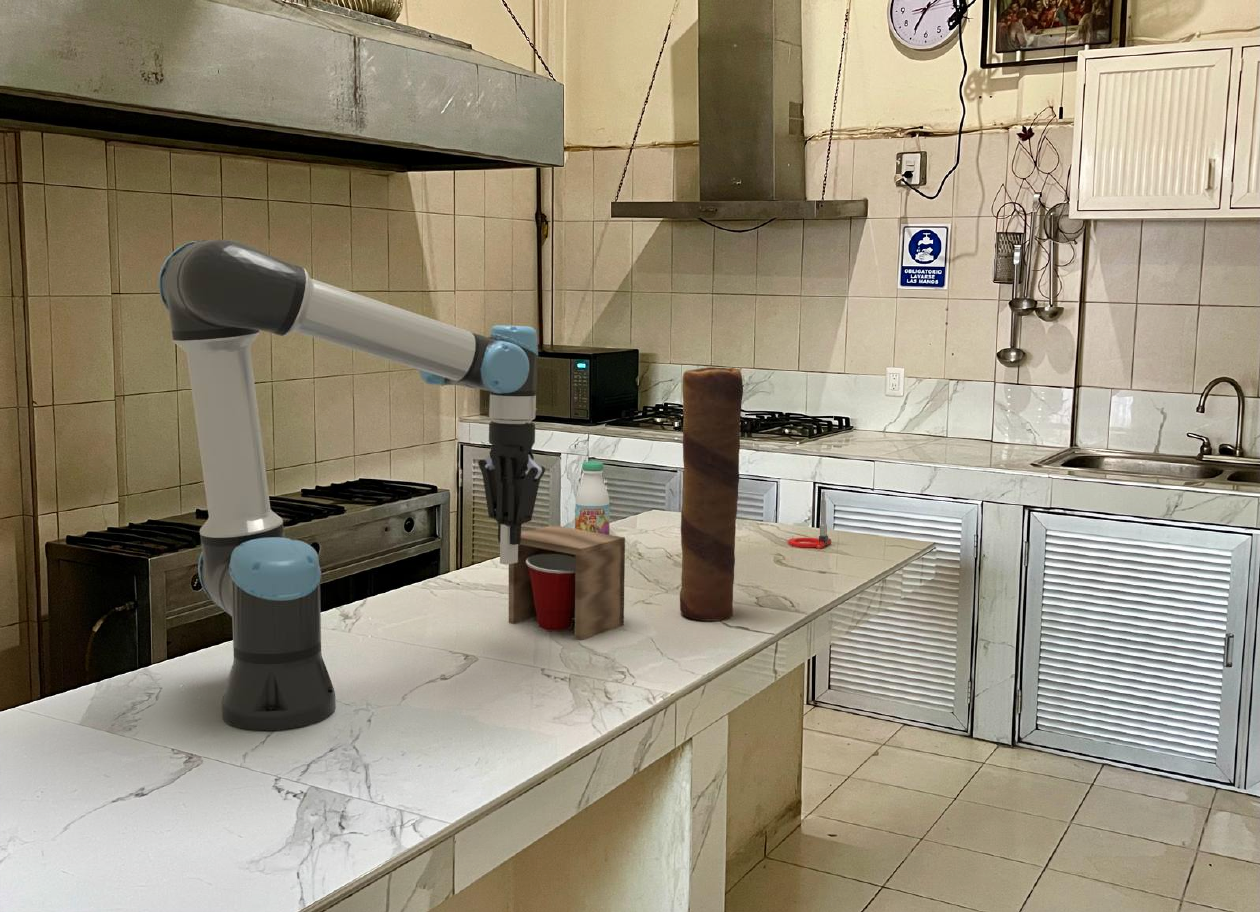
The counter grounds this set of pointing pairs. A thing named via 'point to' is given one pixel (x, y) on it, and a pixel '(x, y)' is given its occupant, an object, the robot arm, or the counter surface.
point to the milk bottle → (592, 500)
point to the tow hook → (823, 537)
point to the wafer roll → (709, 490)
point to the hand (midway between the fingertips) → (508, 562)
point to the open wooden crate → (593, 577)
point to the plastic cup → (553, 589)
